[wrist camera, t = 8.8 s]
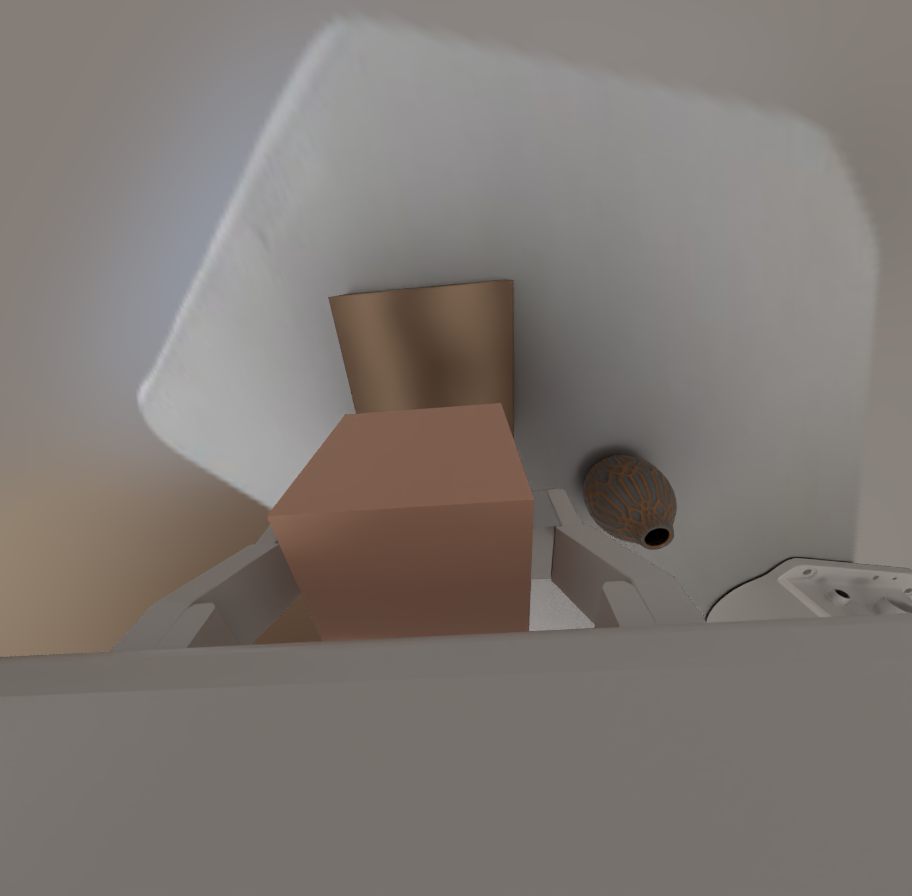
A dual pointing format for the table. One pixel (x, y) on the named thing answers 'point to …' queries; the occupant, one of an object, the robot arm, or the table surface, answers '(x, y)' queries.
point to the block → (412, 526)
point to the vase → (631, 501)
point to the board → (429, 346)
